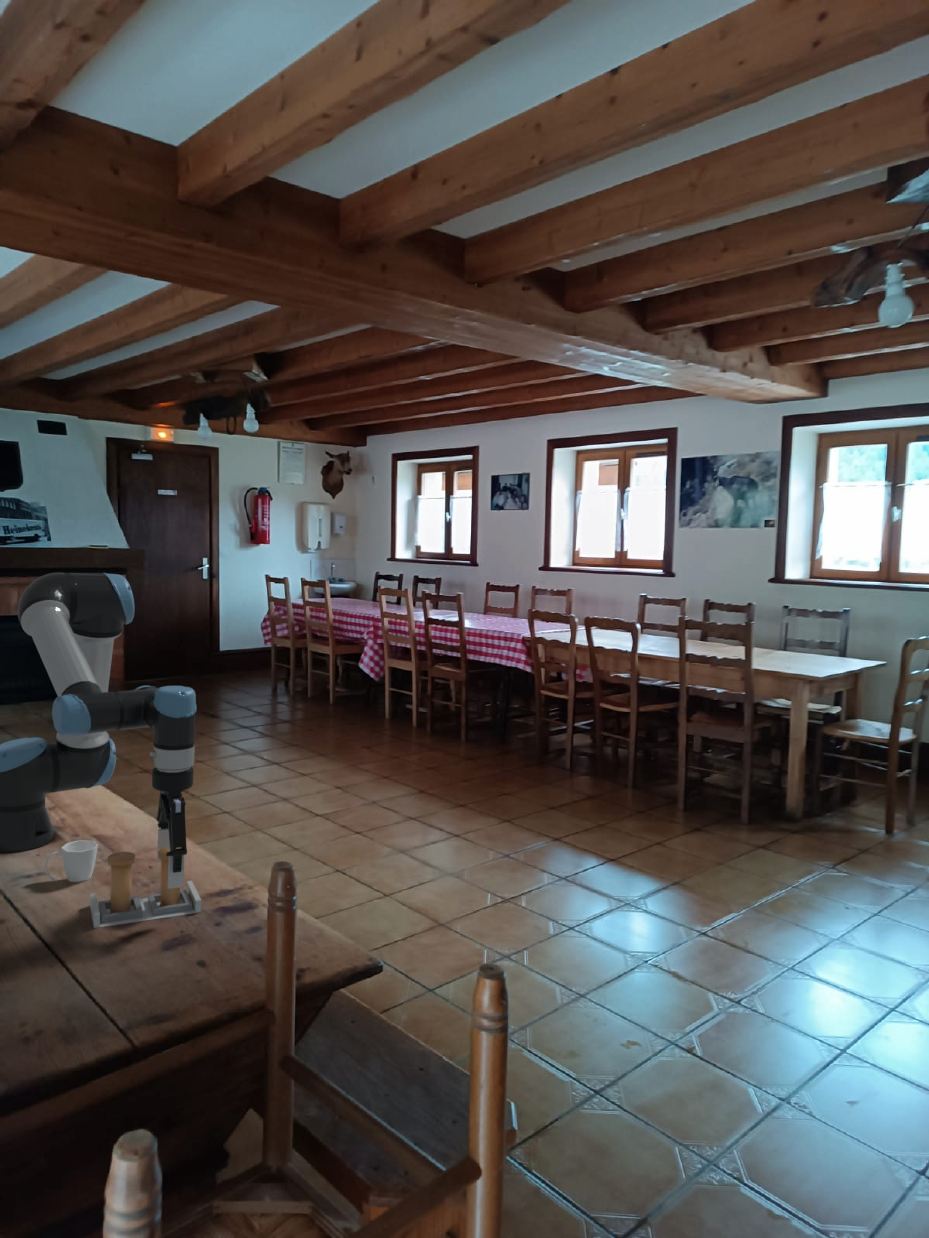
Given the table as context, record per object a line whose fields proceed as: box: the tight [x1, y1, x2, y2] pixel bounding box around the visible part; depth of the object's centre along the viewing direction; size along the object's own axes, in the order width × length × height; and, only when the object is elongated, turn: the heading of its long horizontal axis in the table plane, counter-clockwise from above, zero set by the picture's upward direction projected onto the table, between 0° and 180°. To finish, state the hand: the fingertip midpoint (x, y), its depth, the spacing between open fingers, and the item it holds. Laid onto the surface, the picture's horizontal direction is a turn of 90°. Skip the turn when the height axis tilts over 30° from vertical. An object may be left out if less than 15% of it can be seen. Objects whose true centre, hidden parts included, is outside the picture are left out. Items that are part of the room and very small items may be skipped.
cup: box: [44, 839, 99, 883], centre depth 176 cm, size 7×10×8 cm
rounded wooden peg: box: [107, 851, 136, 914], centre depth 162 cm, size 5×5×11 cm
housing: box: [89, 880, 202, 929], centre depth 164 cm, size 10×19×4 cm, turn 118°
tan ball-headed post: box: [157, 847, 181, 907], centre depth 166 cm, size 5×5×11 cm
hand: (169, 873), depth 166 cm, fingers open, 13 cm apart
